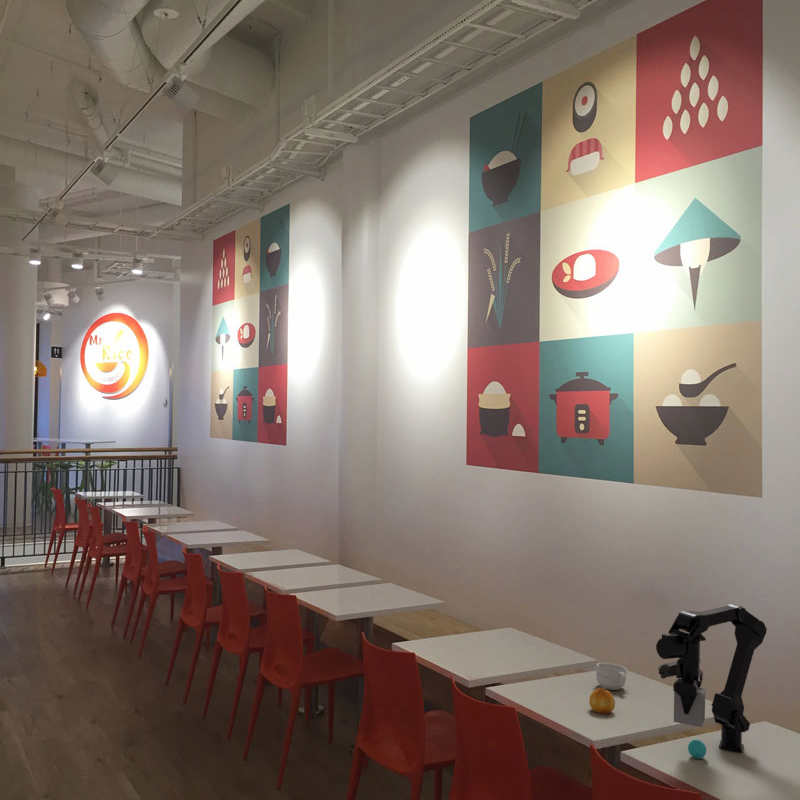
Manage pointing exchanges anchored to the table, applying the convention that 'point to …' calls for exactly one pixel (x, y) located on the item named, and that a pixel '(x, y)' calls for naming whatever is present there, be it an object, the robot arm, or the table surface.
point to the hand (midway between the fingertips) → (688, 710)
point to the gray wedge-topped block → (696, 711)
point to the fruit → (602, 701)
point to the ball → (697, 749)
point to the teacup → (611, 676)
